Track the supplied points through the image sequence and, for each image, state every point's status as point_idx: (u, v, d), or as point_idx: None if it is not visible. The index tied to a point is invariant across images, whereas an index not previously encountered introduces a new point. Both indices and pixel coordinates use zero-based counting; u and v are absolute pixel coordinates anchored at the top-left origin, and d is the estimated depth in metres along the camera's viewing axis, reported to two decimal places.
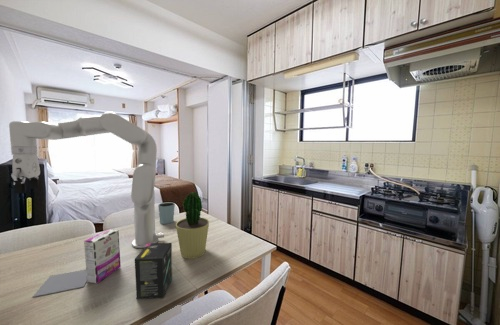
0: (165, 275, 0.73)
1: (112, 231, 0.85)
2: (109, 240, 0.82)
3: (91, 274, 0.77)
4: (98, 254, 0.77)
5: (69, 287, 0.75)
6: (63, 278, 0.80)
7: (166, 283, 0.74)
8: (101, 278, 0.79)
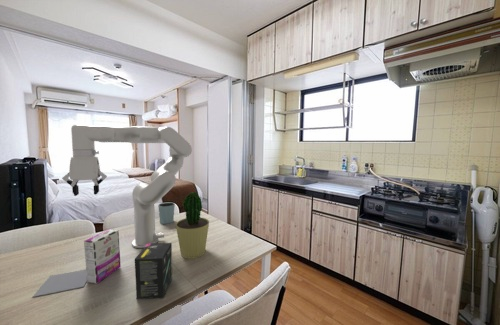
0: (165, 275, 0.73)
1: (112, 231, 0.85)
2: (109, 240, 0.82)
3: (91, 274, 0.77)
4: (98, 254, 0.77)
5: (69, 287, 0.75)
6: (63, 278, 0.80)
7: (166, 283, 0.74)
8: (101, 278, 0.79)
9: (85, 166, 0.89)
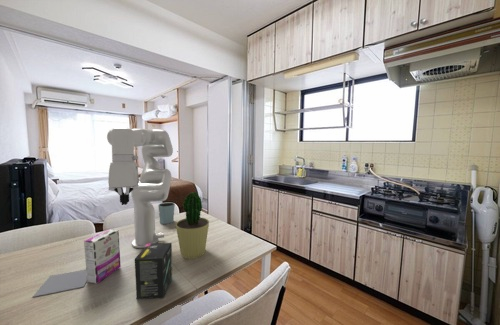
0: (165, 275, 0.73)
1: (112, 231, 0.85)
2: (109, 240, 0.82)
3: (91, 274, 0.77)
4: (98, 254, 0.77)
5: (69, 287, 0.75)
6: (63, 278, 0.80)
7: (166, 283, 0.74)
8: (101, 278, 0.79)
9: (124, 172, 0.82)
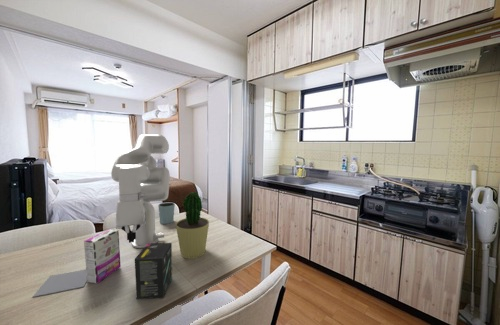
0: (165, 275, 0.73)
1: (112, 231, 0.85)
2: (109, 240, 0.82)
3: (91, 274, 0.77)
4: (98, 254, 0.77)
5: (69, 287, 0.75)
6: (63, 278, 0.80)
7: (166, 283, 0.74)
8: (101, 278, 0.79)
9: (132, 211, 0.83)
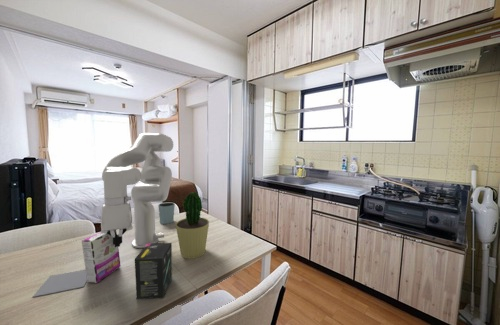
0: (165, 275, 0.73)
1: None
2: (107, 239, 0.82)
3: (90, 273, 0.77)
4: (96, 253, 0.77)
5: (69, 287, 0.75)
6: (63, 278, 0.80)
7: (166, 283, 0.74)
8: (101, 277, 0.79)
9: (117, 215, 0.81)
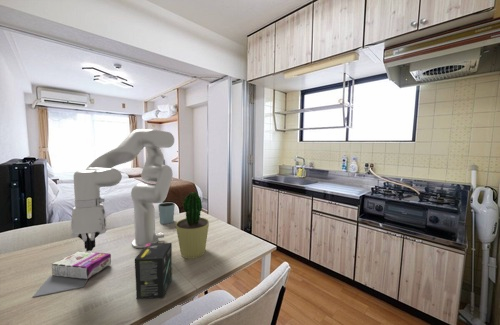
0: (165, 275, 0.73)
1: None
2: (73, 256, 0.87)
3: (78, 272, 0.79)
4: (65, 263, 0.81)
5: (69, 287, 0.75)
6: (63, 278, 0.80)
7: (166, 283, 0.74)
8: (89, 264, 0.80)
9: (89, 218, 0.77)
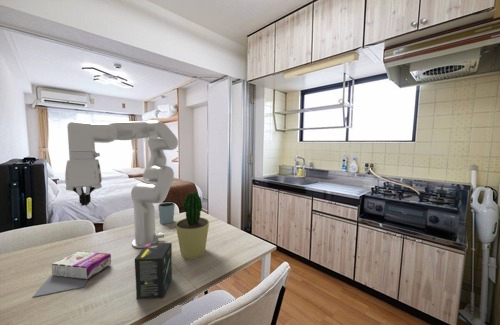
0: (165, 275, 0.73)
1: None
2: (73, 256, 0.87)
3: (78, 272, 0.79)
4: (65, 263, 0.81)
5: (69, 287, 0.75)
6: (63, 278, 0.80)
7: (166, 283, 0.74)
8: (89, 264, 0.80)
9: (83, 170, 0.76)
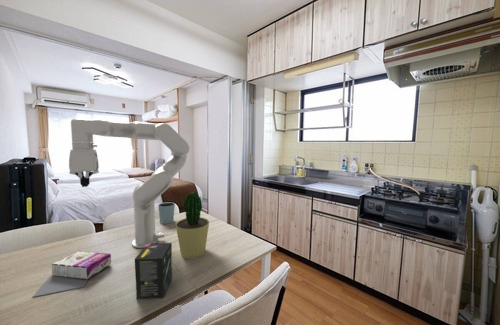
0: (165, 275, 0.73)
1: None
2: (73, 256, 0.87)
3: (78, 272, 0.79)
4: (65, 263, 0.81)
5: (69, 287, 0.75)
6: (63, 278, 0.80)
7: (166, 283, 0.74)
8: (89, 264, 0.80)
9: (84, 158, 0.93)
